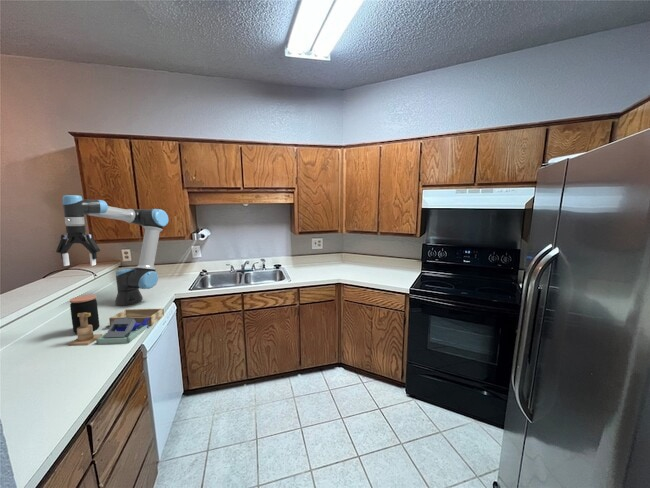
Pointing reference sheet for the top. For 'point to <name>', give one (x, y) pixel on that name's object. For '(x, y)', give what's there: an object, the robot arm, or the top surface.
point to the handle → (84, 331)
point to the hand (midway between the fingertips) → (80, 265)
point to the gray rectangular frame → (121, 323)
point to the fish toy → (134, 326)
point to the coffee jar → (84, 305)
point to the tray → (121, 340)
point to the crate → (140, 315)
